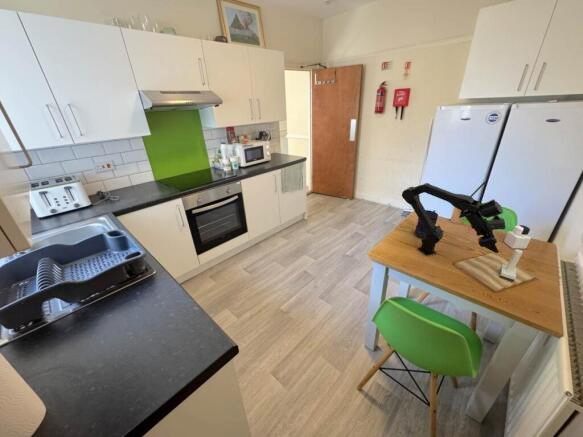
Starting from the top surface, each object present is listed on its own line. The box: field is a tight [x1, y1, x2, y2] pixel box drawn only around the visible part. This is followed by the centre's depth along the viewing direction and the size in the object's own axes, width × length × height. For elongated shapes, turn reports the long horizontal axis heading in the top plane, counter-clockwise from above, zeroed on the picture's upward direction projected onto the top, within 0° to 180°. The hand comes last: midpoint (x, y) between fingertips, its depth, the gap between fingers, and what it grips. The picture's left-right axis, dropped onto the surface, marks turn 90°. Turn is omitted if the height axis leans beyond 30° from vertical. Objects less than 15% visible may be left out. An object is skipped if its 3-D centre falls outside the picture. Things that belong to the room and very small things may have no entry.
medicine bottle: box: [503, 224, 532, 250], centre depth 132 cm, size 7×7×12 cm
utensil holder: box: [449, 181, 486, 224], centre depth 153 cm, size 11×11×30 cm
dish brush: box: [499, 248, 524, 282], centre depth 108 cm, size 8×5×14 cm, turn 139°
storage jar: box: [414, 209, 439, 240], centre depth 143 cm, size 10×10×18 cm
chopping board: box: [454, 252, 538, 293], centre depth 116 cm, size 26×20×1 cm
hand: (496, 247), depth 111 cm, fingers open, 9 cm apart
